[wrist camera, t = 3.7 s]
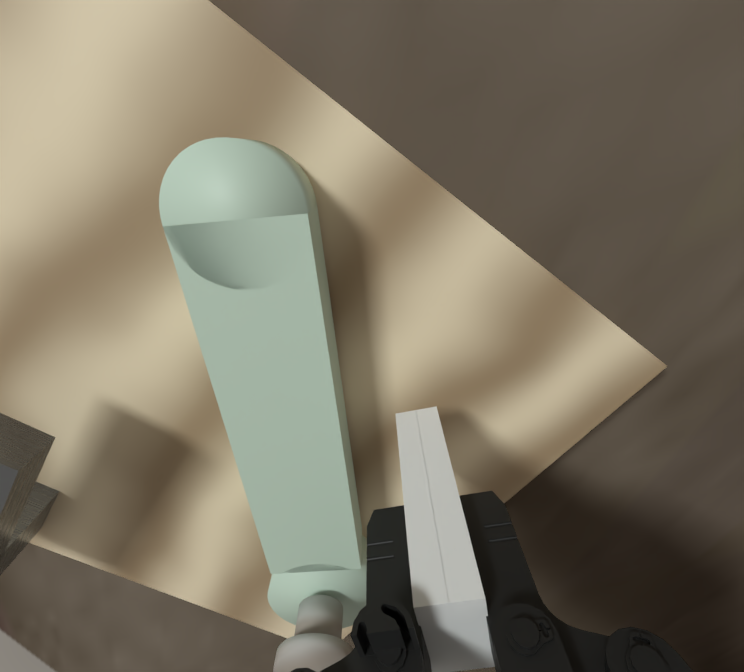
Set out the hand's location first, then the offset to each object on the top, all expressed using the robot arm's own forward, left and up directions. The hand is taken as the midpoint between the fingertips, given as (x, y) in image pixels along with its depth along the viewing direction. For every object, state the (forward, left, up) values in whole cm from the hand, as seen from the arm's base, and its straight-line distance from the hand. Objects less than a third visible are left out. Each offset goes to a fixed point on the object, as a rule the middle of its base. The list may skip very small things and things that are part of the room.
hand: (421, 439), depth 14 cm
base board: (+6, +5, -3) cm, 9 cm away
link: (+3, +3, -2) cm, 5 cm away
